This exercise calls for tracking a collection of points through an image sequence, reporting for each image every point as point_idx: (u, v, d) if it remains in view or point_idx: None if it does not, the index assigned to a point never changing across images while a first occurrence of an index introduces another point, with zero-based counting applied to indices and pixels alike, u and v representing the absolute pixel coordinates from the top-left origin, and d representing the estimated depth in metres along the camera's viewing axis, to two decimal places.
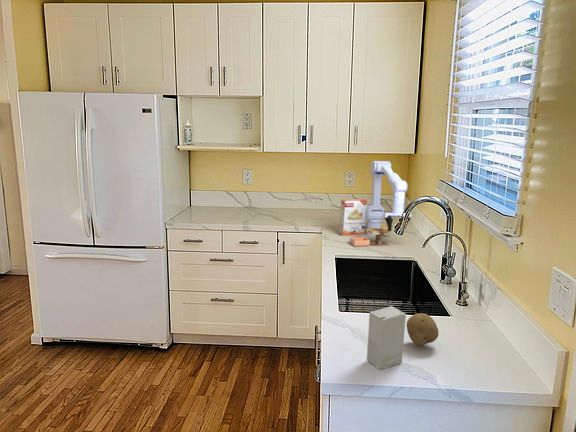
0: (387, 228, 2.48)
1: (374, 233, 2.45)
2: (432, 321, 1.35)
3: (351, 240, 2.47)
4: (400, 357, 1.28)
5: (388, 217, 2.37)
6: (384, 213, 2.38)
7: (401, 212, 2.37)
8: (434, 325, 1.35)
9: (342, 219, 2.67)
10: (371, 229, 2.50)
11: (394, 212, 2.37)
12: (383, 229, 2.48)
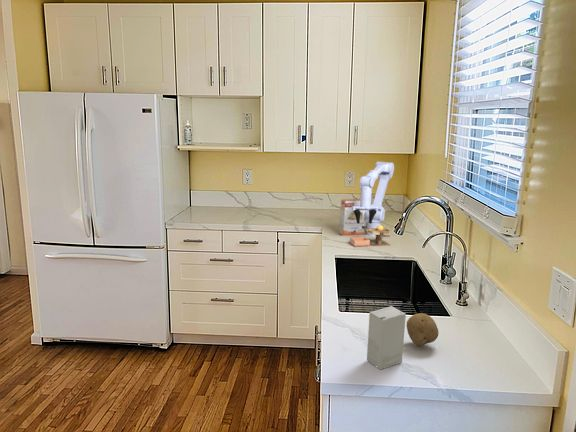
0: None
1: (374, 233, 2.45)
2: (432, 321, 1.35)
3: (351, 240, 2.47)
4: (400, 357, 1.28)
5: (356, 210, 2.52)
6: (352, 206, 2.52)
7: (368, 205, 2.51)
8: (434, 325, 1.35)
9: (342, 219, 2.67)
10: (371, 229, 2.50)
11: (361, 205, 2.52)
12: (380, 229, 2.47)
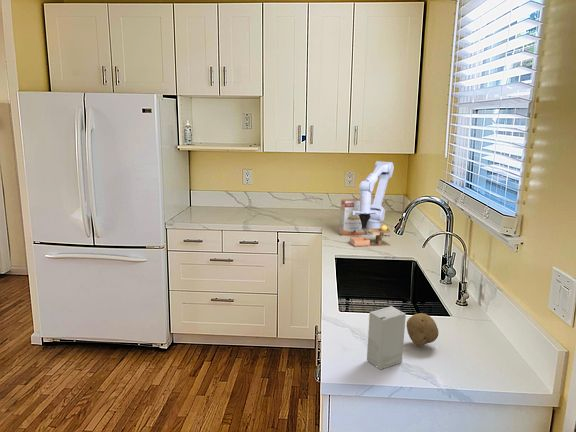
0: None
1: (374, 234, 2.45)
2: (432, 321, 1.35)
3: (351, 240, 2.47)
4: (400, 357, 1.28)
5: None
6: (352, 211, 2.53)
7: (368, 210, 2.52)
8: (434, 325, 1.35)
9: (342, 219, 2.67)
10: (371, 230, 2.50)
11: (361, 210, 2.52)
12: (384, 229, 2.48)
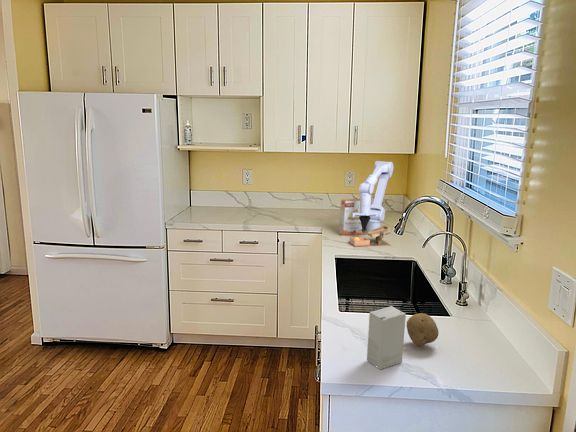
0: None
1: (374, 236, 2.46)
2: (432, 321, 1.35)
3: (351, 240, 2.47)
4: (400, 357, 1.28)
5: None
6: (352, 213, 2.53)
7: (367, 212, 2.52)
8: (434, 325, 1.35)
9: (342, 219, 2.67)
10: (370, 231, 2.50)
11: (361, 212, 2.53)
12: None
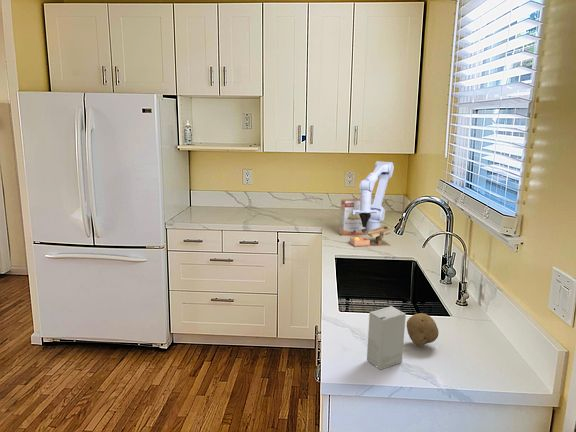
0: None
1: (374, 236, 2.46)
2: (432, 321, 1.35)
3: (351, 240, 2.47)
4: (400, 357, 1.28)
5: None
6: (352, 210, 2.53)
7: (368, 209, 2.52)
8: (434, 325, 1.35)
9: (342, 219, 2.67)
10: (370, 231, 2.50)
11: (361, 209, 2.52)
12: None
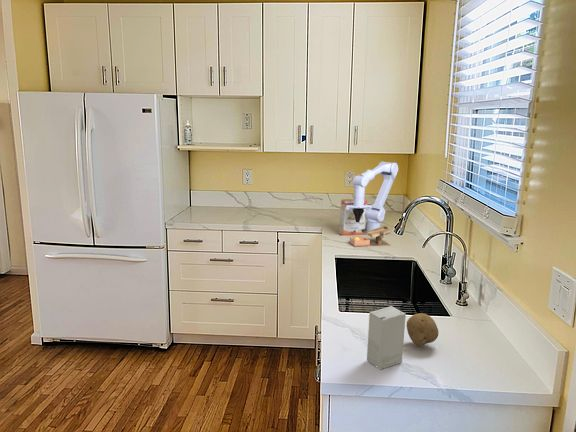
0: None
1: (374, 236, 2.46)
2: (432, 321, 1.35)
3: (351, 240, 2.47)
4: (400, 357, 1.28)
5: None
6: (345, 205, 2.55)
7: (361, 204, 2.53)
8: (434, 325, 1.35)
9: (342, 219, 2.67)
10: (370, 231, 2.50)
11: (355, 204, 2.54)
12: None
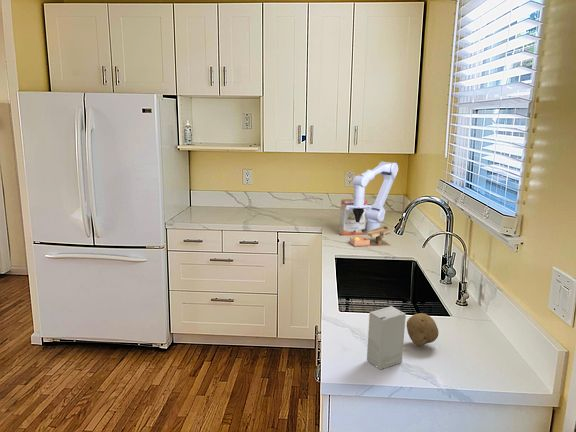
0: (354, 239, 2.46)
1: (374, 236, 2.46)
2: (432, 321, 1.35)
3: (351, 240, 2.47)
4: (400, 357, 1.28)
5: None
6: (345, 205, 2.55)
7: (361, 204, 2.53)
8: (434, 325, 1.35)
9: (342, 219, 2.67)
10: (370, 231, 2.50)
11: (355, 204, 2.54)
12: None
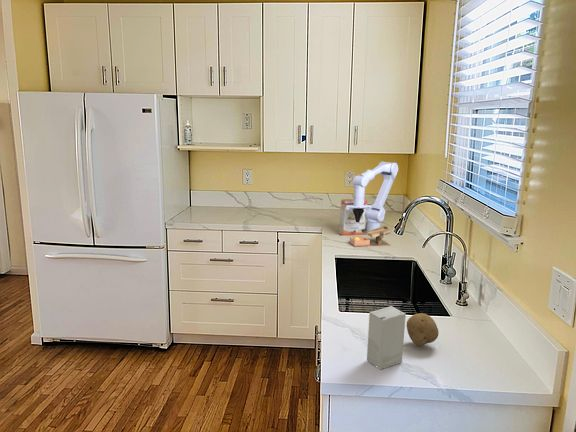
0: (354, 239, 2.46)
1: (374, 236, 2.46)
2: (432, 321, 1.35)
3: (351, 240, 2.47)
4: (400, 357, 1.28)
5: None
6: (345, 205, 2.55)
7: (361, 204, 2.53)
8: (434, 325, 1.35)
9: (342, 219, 2.67)
10: (370, 231, 2.50)
11: (355, 204, 2.54)
12: None
